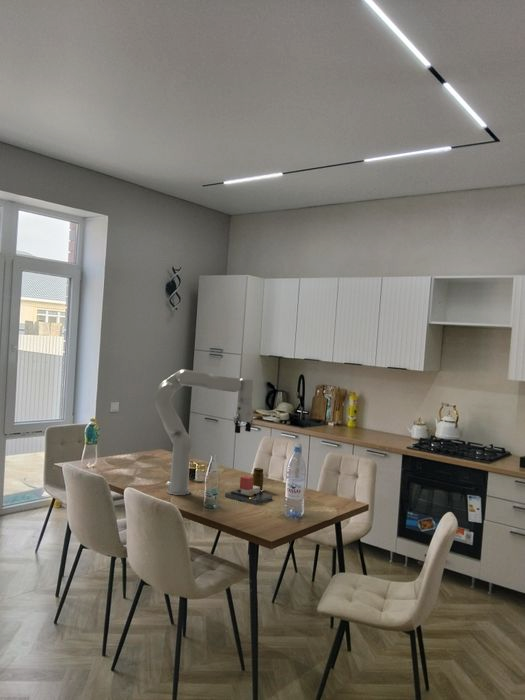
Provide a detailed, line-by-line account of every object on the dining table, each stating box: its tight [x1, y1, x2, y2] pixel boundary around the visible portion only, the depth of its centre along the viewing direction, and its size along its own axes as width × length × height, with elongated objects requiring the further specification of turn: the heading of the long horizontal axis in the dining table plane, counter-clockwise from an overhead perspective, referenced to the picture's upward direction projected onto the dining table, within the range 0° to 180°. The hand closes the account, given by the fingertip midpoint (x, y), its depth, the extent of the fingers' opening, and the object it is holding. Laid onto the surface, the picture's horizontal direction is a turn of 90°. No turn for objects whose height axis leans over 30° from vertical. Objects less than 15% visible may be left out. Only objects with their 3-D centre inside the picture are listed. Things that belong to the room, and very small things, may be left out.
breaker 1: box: [241, 489, 254, 496], centre depth 296 cm, size 5×5×3 cm
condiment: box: [252, 467, 264, 490], centre depth 316 cm, size 7×8×12 cm
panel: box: [224, 488, 273, 506], centre depth 298 cm, size 20×15×3 cm
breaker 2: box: [253, 485, 260, 494], centre depth 301 cm, size 5×5×3 cm
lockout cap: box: [239, 475, 254, 490], centre depth 297 cm, size 5×5×6 cm
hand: (242, 432), depth 307 cm, fingers open, 9 cm apart
